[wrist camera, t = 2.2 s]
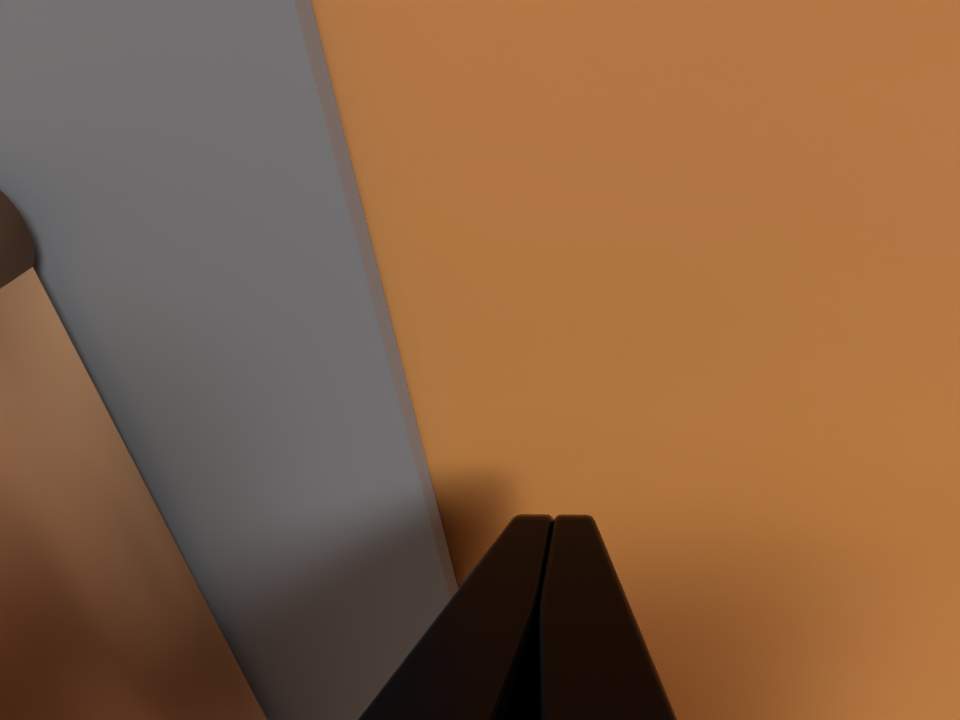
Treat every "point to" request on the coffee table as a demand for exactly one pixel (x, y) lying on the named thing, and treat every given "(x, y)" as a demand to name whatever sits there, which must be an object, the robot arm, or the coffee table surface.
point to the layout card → (232, 322)
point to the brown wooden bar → (88, 543)
